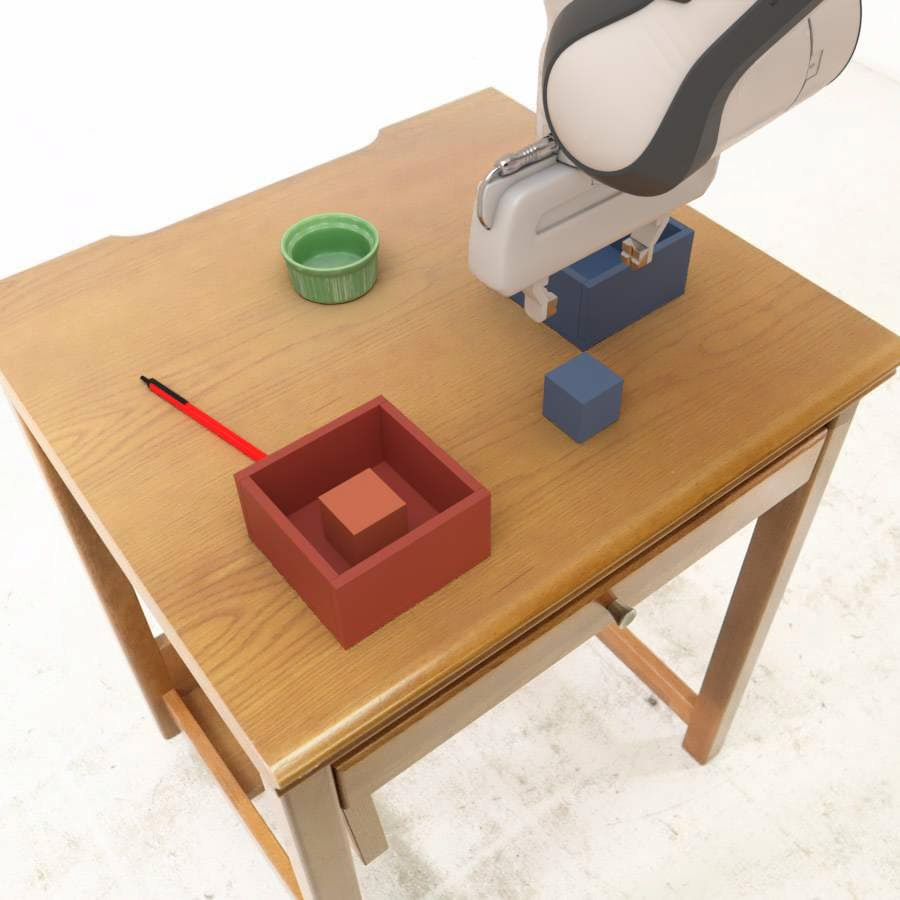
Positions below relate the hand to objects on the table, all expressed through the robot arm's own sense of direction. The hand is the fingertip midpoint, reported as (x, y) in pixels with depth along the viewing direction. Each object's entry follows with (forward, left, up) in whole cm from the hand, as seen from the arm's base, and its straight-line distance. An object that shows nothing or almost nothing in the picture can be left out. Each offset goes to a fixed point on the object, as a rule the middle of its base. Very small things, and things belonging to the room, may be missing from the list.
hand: (589, 288), depth 76 cm
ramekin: (+28, +5, -13) cm, 31 cm away
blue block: (0, 0, -13) cm, 13 cm away
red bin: (0, +21, -13) cm, 24 cm away
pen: (+17, +23, -13) cm, 32 cm away
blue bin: (+12, -12, -13) cm, 21 cm away
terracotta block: (0, +21, -12) cm, 24 cm away
